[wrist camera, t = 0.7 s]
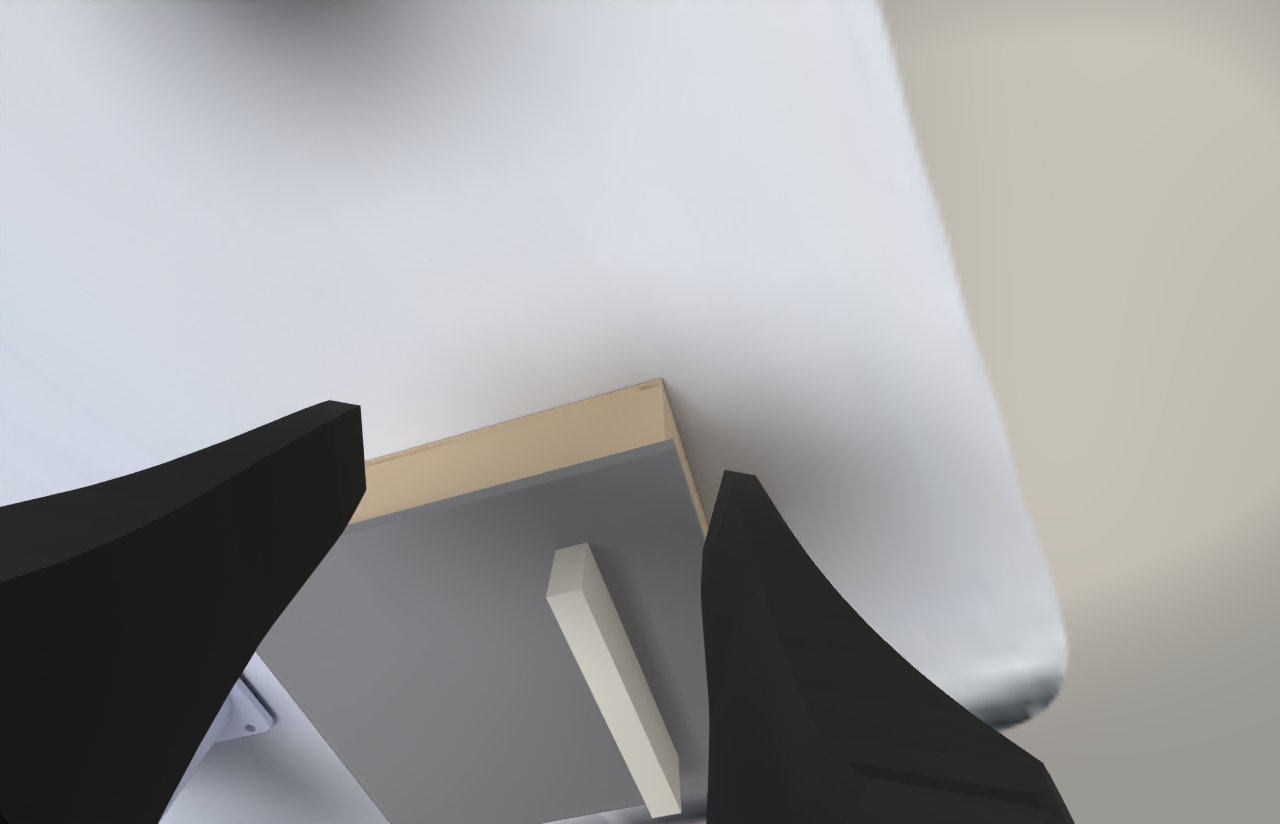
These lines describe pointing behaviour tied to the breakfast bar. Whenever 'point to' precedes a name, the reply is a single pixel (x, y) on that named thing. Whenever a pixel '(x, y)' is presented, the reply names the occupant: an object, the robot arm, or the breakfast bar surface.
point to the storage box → (524, 450)
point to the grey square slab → (513, 648)
